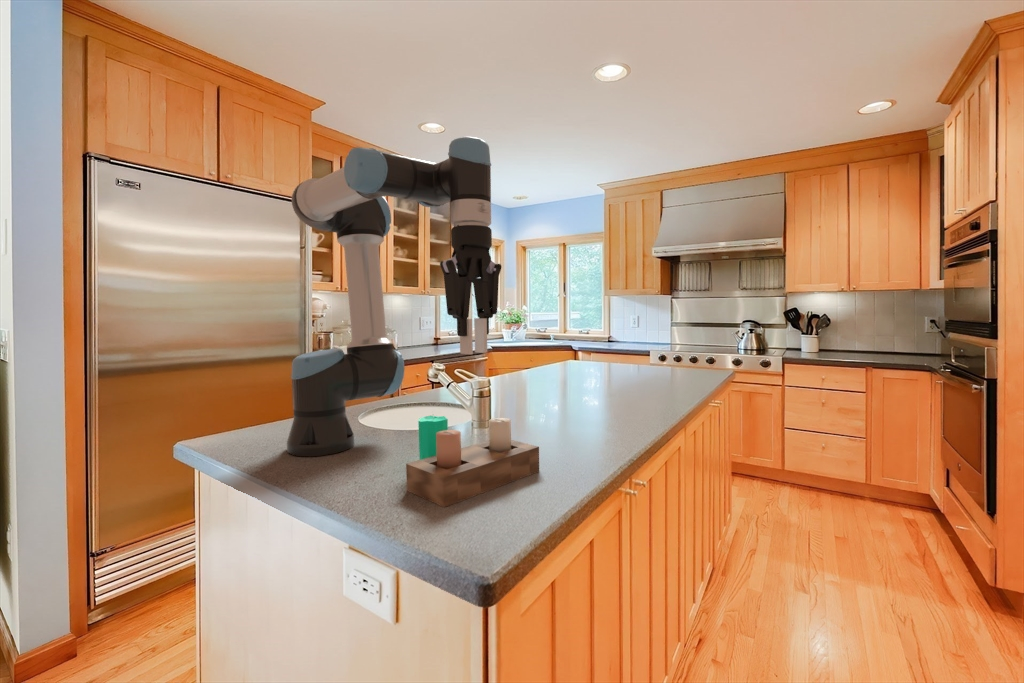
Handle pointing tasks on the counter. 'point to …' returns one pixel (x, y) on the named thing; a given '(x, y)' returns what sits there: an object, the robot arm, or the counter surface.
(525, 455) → the mount
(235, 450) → the counter surface
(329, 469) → the counter surface
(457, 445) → the knob near
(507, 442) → the knob far
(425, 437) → the candle
